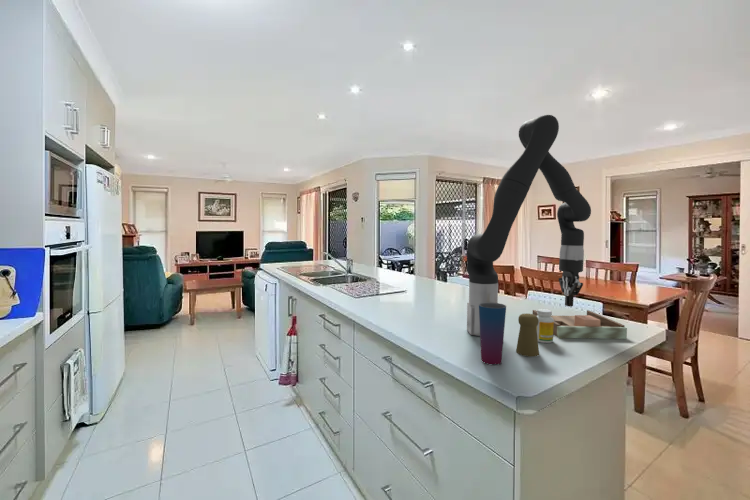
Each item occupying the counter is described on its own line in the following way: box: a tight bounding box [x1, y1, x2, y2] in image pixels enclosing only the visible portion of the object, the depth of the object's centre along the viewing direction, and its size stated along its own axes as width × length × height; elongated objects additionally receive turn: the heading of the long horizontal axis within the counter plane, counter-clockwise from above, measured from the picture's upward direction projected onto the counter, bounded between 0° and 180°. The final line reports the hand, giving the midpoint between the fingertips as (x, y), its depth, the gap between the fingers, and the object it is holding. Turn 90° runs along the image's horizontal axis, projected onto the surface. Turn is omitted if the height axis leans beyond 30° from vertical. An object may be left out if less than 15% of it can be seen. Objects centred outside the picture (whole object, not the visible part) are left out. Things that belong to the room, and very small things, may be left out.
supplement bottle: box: [536, 308, 554, 344], centre depth 107 cm, size 5×5×10 cm
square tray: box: [532, 309, 628, 340], centre depth 120 cm, size 21×21×4 cm
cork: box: [515, 313, 540, 358], centre depth 97 cm, size 6×6×11 cm
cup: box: [479, 302, 507, 365], centre depth 90 cm, size 7×7×15 cm
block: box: [574, 314, 601, 327], centre depth 114 cm, size 5×6×4 cm
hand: (568, 305), depth 124 cm, fingers closed
